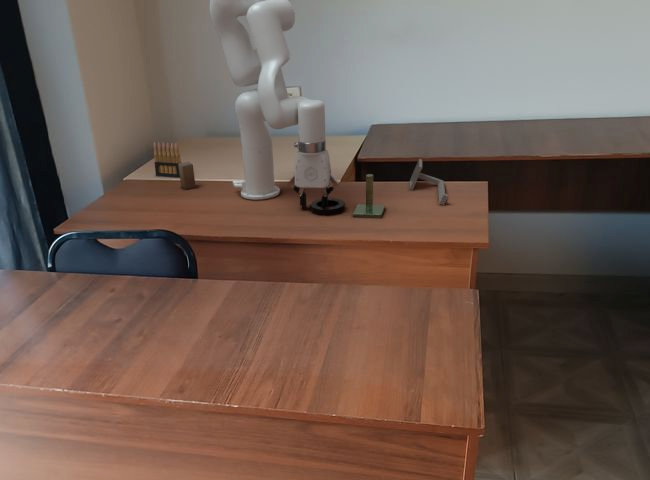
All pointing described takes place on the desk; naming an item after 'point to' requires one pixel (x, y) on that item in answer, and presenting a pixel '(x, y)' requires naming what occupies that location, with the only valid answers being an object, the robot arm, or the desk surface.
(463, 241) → the desk surface
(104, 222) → the desk surface
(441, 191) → the toilet paper hanger
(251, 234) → the desk surface
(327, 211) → the black ring
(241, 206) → the desk surface
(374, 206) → the post
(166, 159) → the ammunition clip
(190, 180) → the wooden block
